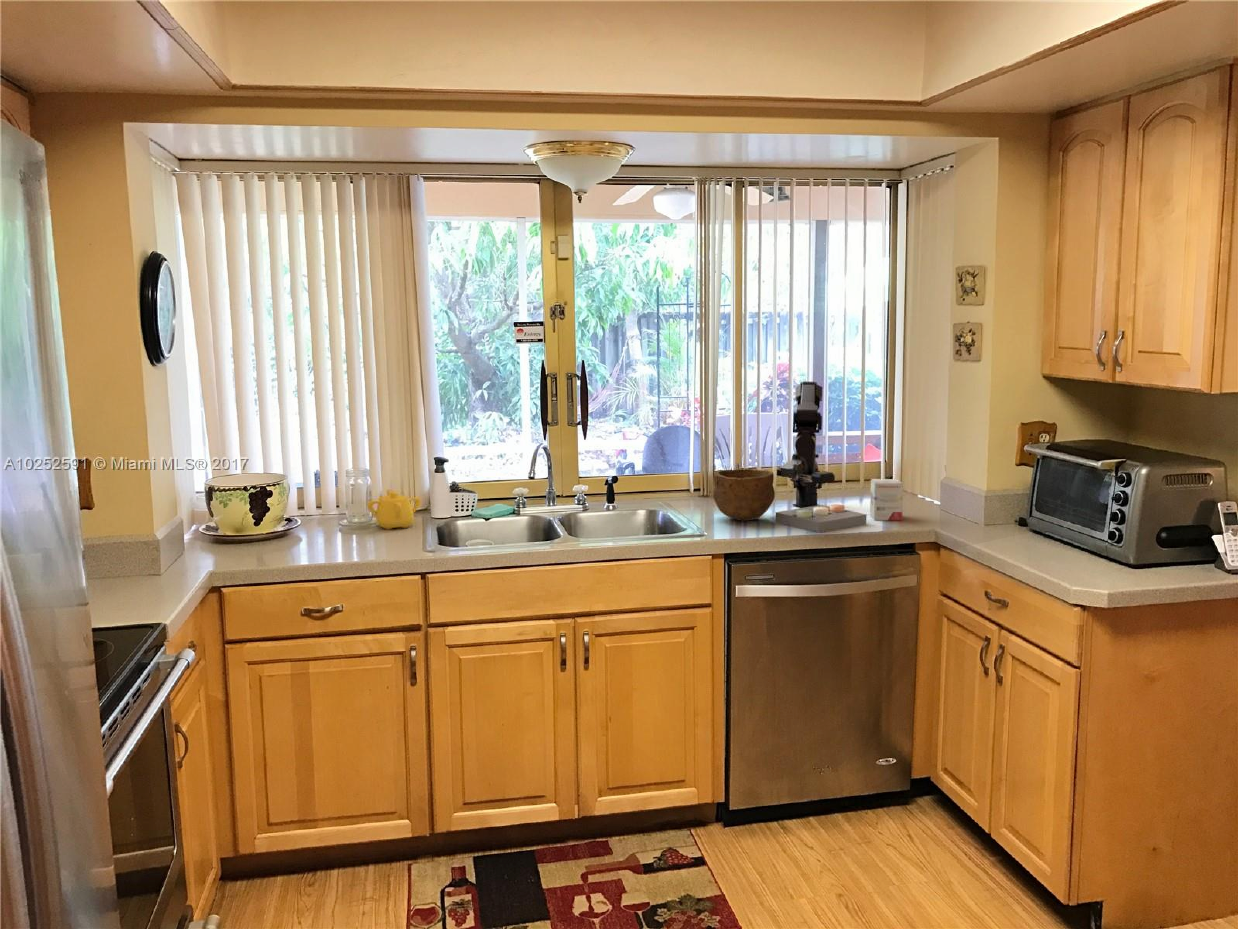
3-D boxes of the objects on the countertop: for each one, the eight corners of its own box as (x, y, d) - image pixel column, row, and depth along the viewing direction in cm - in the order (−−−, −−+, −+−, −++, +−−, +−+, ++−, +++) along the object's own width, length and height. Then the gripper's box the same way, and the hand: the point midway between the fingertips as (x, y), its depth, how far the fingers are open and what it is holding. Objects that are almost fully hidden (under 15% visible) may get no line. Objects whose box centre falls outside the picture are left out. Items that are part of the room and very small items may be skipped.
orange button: (826, 515, 297) (826, 505, 297) (836, 513, 300) (836, 503, 299) (837, 517, 294) (837, 507, 293) (847, 515, 296) (847, 506, 296)
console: (775, 521, 295) (775, 512, 294) (822, 514, 306) (822, 504, 306) (818, 532, 280) (819, 522, 280) (866, 524, 291) (866, 514, 291)
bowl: (702, 522, 294) (703, 474, 292) (725, 511, 311) (726, 465, 308) (761, 528, 286) (762, 478, 283) (782, 517, 302) (783, 469, 300)
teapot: (361, 528, 288) (360, 494, 286) (388, 520, 299) (387, 487, 297) (399, 532, 282) (398, 498, 280) (425, 524, 293) (424, 490, 292)
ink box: (897, 515, 304) (898, 478, 302) (902, 521, 296) (903, 482, 294) (869, 514, 305) (870, 477, 303) (873, 520, 297) (874, 482, 295)
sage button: (793, 520, 290) (793, 510, 289) (803, 518, 292) (804, 509, 292) (803, 523, 286) (804, 513, 285) (814, 521, 288) (814, 511, 288)
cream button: (810, 517, 293) (810, 508, 293) (820, 516, 296) (820, 506, 295) (820, 520, 290) (821, 510, 289) (831, 518, 292) (831, 508, 292)
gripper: (763, 449, 289) (762, 501, 291) (809, 456, 274) (807, 511, 276) (790, 446, 295) (789, 497, 298) (836, 453, 280) (835, 506, 282)
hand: (804, 503), depth 288 cm, fingers closed
